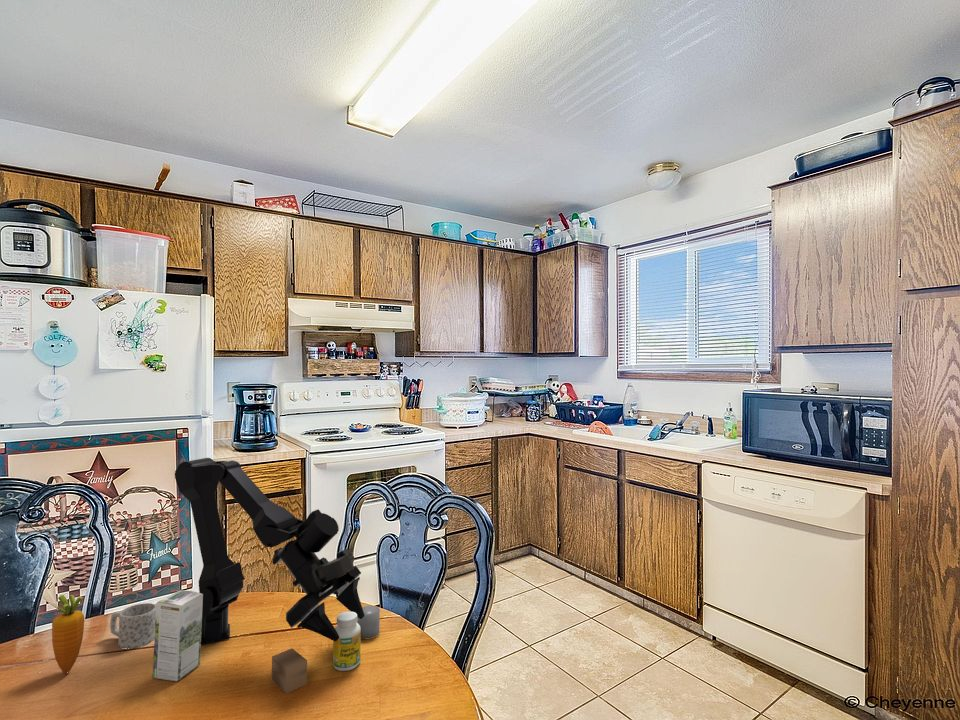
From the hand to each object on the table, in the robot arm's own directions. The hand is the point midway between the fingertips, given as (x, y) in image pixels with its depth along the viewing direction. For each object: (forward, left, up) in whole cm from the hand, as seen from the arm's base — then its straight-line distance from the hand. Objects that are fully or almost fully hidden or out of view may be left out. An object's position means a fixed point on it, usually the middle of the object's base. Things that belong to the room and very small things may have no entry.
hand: (350, 628), depth 100 cm
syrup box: (-13, -31, -7) cm, 34 cm away
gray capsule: (-11, +6, -7) cm, 14 cm away
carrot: (-22, -50, -7) cm, 55 cm away
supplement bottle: (-1, -1, -7) cm, 7 cm away
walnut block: (0, -12, -7) cm, 14 cm away
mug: (-31, -41, -7) cm, 51 cm away
